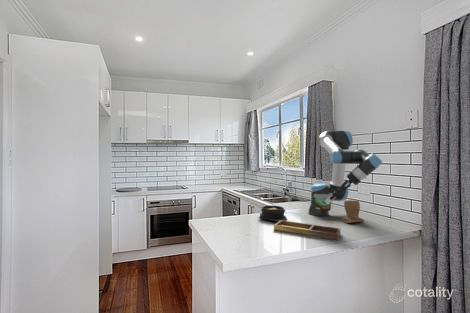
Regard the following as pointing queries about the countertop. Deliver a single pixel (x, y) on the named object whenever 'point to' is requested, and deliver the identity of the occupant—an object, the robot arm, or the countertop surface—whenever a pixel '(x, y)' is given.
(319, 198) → the food container
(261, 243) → the countertop surface
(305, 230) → the walnut divided tray
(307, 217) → the countertop surface
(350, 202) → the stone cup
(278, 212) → the casserole
